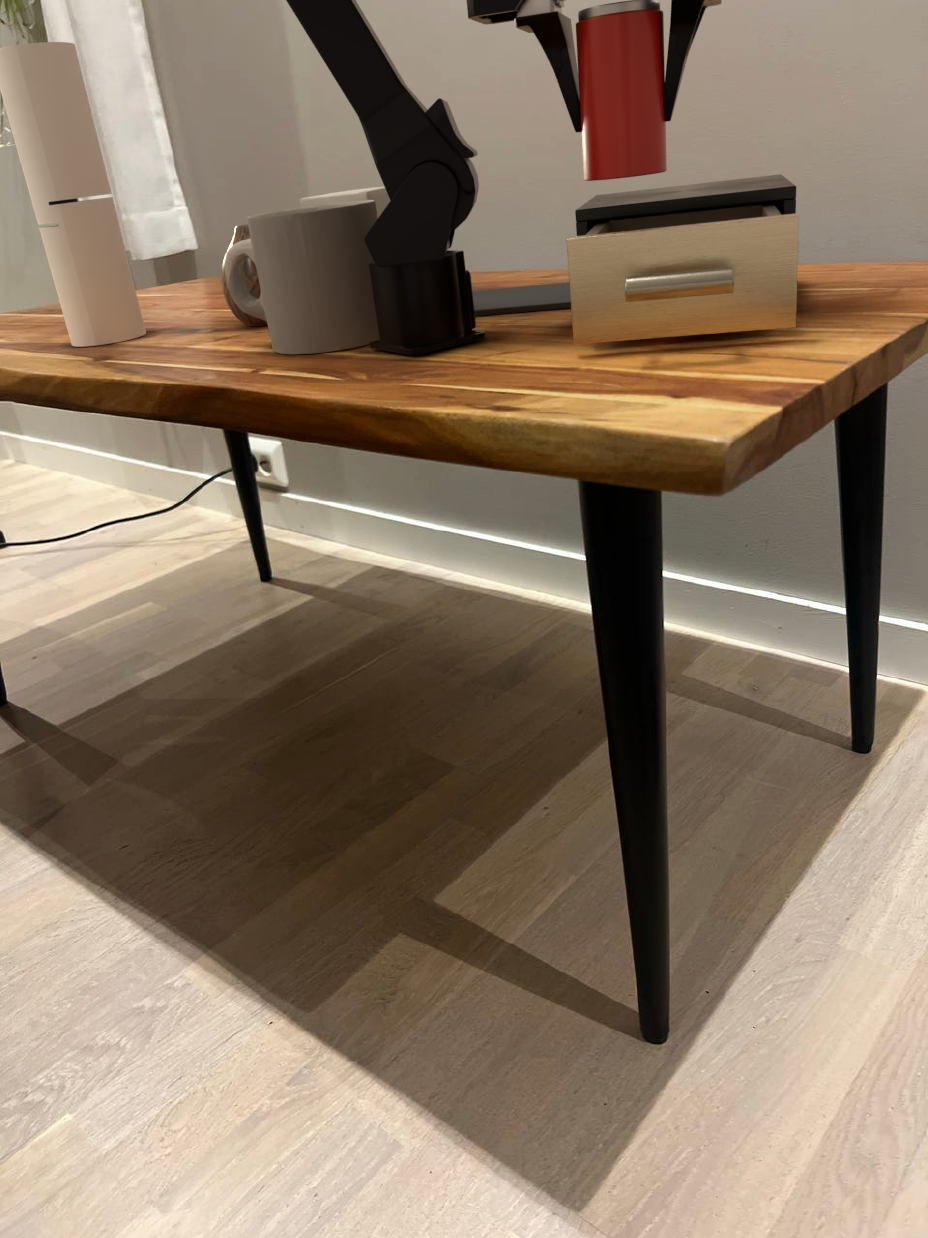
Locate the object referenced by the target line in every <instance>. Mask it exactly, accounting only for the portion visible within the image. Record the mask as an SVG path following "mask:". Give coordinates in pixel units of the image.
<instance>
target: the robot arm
mask: <svg viewBox="0 0 928 1238" xmlns="http://www.w3.org/2000/svg"><path fill="white" fill-rule="evenodd" d="M285 1H286V3H287V4H288V6H289V8H290V9H291V11H292V12H293V14H294V15H295V18H296V19H297V21H298V22H299V24H300V25H301V27H302V28H303V30H304V32H305V33H306V35H307V37H308V38H309V39H310V41H311V43H312V45H313V46H314V48H315V49H316V51H317V52H318V54H319V56H320V58H321V59H322V61H323V62H324V64H325V66H326V67H327V68H328V70H329V72H330V74H331V75H332V77H333V78H334V80H335V81H336V83H337V85H338V86H339V88H340V89H341V91H342V93H343V94H344V96H345V98H346V99H347V101H348V102H349V104H350V105H351V107H352V109H353V110H354V112H355V114H356V115H357V117H358V119H359V123H360V125H361V127H362V129H363V133H364V136H365V139H366V141H367V145H368V147H369V150H370V153H371V156H372V159H373V162H374V165H375V166H376V170H377V172H378V174H379V175H378V176H379V177H380V179H381V181H382V184H383V187H385V189H386V191H387V194H388V196H389V198H390V202H389V204H388V205H387V206H386V208H385V209H384V211H383V212H382V213H381V215H380V216H379V218H378V219H377V220H376V222H375V223H374V225H373V226H372V227H371V229H370V230H369V232H368V233H367V234H366V236H365V239H364V241H365V244H366V246H367V248H368V250H369V252H370V254H371V256H372V257H373V259H374V261H375V263H370V264H369V270H370V277H371V284H372V290H373V297H374V304H375V310H376V317H377V324H378V330H379V337H380V340H376V341H372V342H370V344H369V348H370V349H371V350H377V351H384V352H389V353H396V354H403V355H409V356H417V355H422V354H427V353H431V352H436V351H439V350H443V349H447V348H451V347H455V346H459V345H463V344H468V343H471V342H475V341H479V340H483V339H485V338H486V337H487V336H486V331H485V330H477V329H476V326H477V321H476V316H475V311H474V301H473V292H472V291H473V285H472V284H473V283H472V275H471V272H470V271H469V270H468V269H466V262H465V261H466V260H465V252H464V250H449V249H451V248H452V245H453V243H454V237H455V232H456V230H457V229H458V228H459V227H460V226H461V225H462V223H464V222H465V221H466V220H467V218H469V216H470V214H471V212H472V211H473V208H474V207H475V205H476V203H477V200H478V194H479V189H480V188H479V187H480V183H479V177H478V173H477V170H476V167H475V165H474V163H473V162H472V160H471V159H472V158H474V157H477V156H478V154H479V153H478V151H477V150H476V149H475V148H473V147H472V146H471V145H470V144H468V141H466V139H465V138H464V137H463V136H462V134H461V132H460V130H459V127H458V125H457V121H456V120H455V117H454V115H453V111H452V110H451V107H450V105H449V102H447V101H446V100H444V99H442V98H439V97H438V98H437V99H436V100H435V101H434V102H433V104H431V105H430V107H429V108H427V107H426V105H424V104H423V102H422V101H420V99H419V98H418V97H417V96H416V95H415V93H414V92H413V91H412V90H411V89H410V88H409V87H408V85H407V84H406V82H405V80H404V79H403V77H402V75H401V74H400V72H399V70H398V69H397V67H396V64H394V62H393V61H392V59H391V57H390V55H389V53H388V52H387V50H386V48H385V46H384V45H383V43H382V42H381V40H380V38H379V37H378V35H377V33H376V32H375V30H374V28H373V27H372V25H371V23H370V22H369V20H368V18H367V17H366V15H365V13H364V11H363V9H361V6H360V5H359V3H358V1H357V0H285ZM565 1H566V0H466V1H465V2H466V9H467V10H466V11H467V12H466V13H467V19H469V20H471V21H474V22H477V23H479V24H482V25H497V24H503V23H504V24H505V23H509V22H514V24H515V28H516V29H518V30H520V31H523V32H526V33H528V34H534V36H535V38H536V39H537V41H538V43H539V44H540V46H541V49H542V50H543V52H544V54H545V56H546V59H547V60H548V62H549V64H550V66H551V68H552V71H553V73H554V76H555V79H556V81H557V84H558V87H559V90H560V93H561V95H562V98H563V101H564V104H565V108H566V110H567V112H568V115H569V118H570V121H571V123H572V126H573V129H574V132H575V133H581V115H580V97H579V78H578V61H577V54H576V49H575V39H574V33H573V26H572V25H573V24H572V19H571V18H570V17H568V16H566V15H565V14H563V12H562V8H565ZM722 3H723V1H722V0H671V3H670V20H669V21H670V22H669V34H668V44H667V55H666V56H667V57H666V65H665V66H666V67H665V87H664V120H665V122H666V123H667V122H671V121H672V118H673V116H674V115H673V114H674V112H675V111H674V110H675V107H676V103H677V99H678V95H679V92H680V87H681V84H682V80H683V76H684V72H685V69H686V65H687V61H688V57H689V53H690V51H691V47H692V46H693V42H694V40H695V37H696V35H697V32H698V30H699V27H700V25H701V21H702V19H703V16H704V14H705V12H706V9H707V8H709V7H714V6H719V5H721V4H722Z"/></svg>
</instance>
